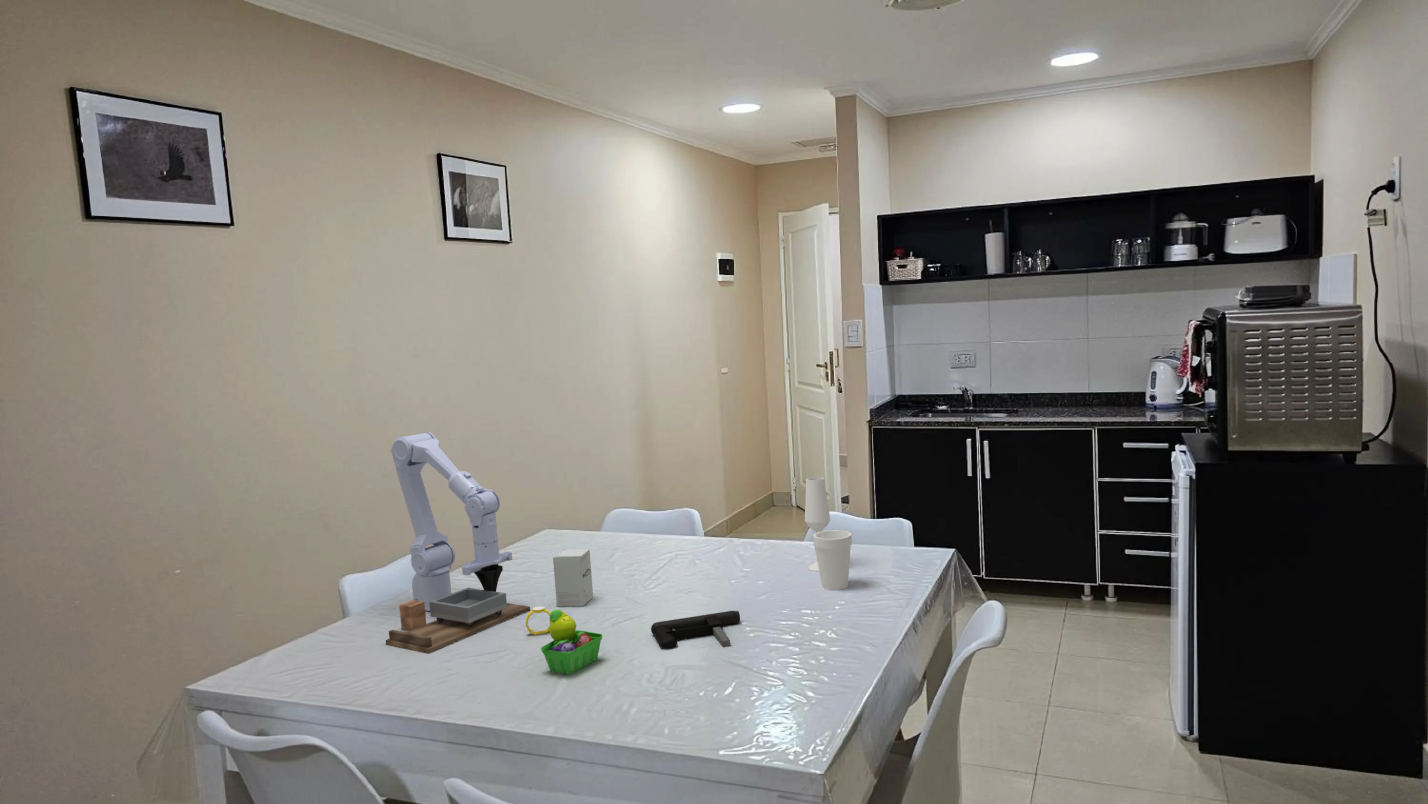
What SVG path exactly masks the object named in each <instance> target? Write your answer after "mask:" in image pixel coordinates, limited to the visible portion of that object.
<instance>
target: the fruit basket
mask: <svg viewBox="0 0 1428 804" xmlns="http://www.w3.org/2000/svg"><path fill="white" fill-rule="evenodd" d="M550 613H551V614H550V616H549V626H550V627H549V635H550V637H551V638H552V641H550V642H549V643H547V644H545V645H543V646H542V647H540V651H541V653H543V656H544V658H545V660H546V664H547V665H548V666H547V667H548V668H549V671H551V672H555V673H559V674H563V673H566V675H568V674H569V675H571V674H573V673H575V672H576V671H578V670H580V669H582V668H583V667H585V666H588V665H590V664H591V663H593V662H595V661H596V660H598V657H599V651H600V649H601V641H602V640H603V634H602V633H597V632H592V631H587V630H586V631H585V630H579V629H577V622H576V621H575V620H574V619H573V618H572V617H571V616H570V615H568V614H567V613H566V612H565V611H563V610H560V609H554V610H552V612H550ZM576 629H577V630H576ZM574 671H575V672H574Z"/></svg>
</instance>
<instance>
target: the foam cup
mask: <svg viewBox="0 0 1428 804" xmlns="http://www.w3.org/2000/svg"><path fill="white" fill-rule="evenodd" d="M812 540H813V541H812V542H813V547H814V552H815V556H816V561H817V562H818V567H819V571H818V572H819V576H820V582H821V586H822V588H823V589H824V590H827V591H828V590H829V591H839V590H844V589H846V588H848V585H849V574H850V560H851V550H852V549H851V548H852V547H851V546H852V543H853V538H852V532H850V531H847V530H837V529H831V530H822V531H821V532H817V533H816V532H815V533H813V535H812Z"/></svg>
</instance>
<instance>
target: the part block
mask: <svg viewBox="0 0 1428 804" xmlns="http://www.w3.org/2000/svg"><path fill="white" fill-rule="evenodd" d="M398 608H399V615H400V616H399V617H400V625H401V626H400V627H401V631H405V632H408V631H410V630H413V629H415V628H418V627H420V626H423V625H425V624H427V616H426V610H425V605H424V602H422V601H416V600H414V599H412V600H409V601H407V602H403V603H401V604H399V607H398Z"/></svg>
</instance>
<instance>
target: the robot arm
mask: <svg viewBox="0 0 1428 804" xmlns="http://www.w3.org/2000/svg"><path fill="white" fill-rule="evenodd" d="M390 452H391V456H392V459H393V463H394V466H395V470H396V474H397V478H398V481H399V485H400V488H401V490H402V494H403V498H404V501H405V504H406V507H407V509H406V510H407V511H408V515H409V518H410V522H411V525H412V528H413V532H414V534H415V535H414V536H415V539H414V541H413V542H412V544H411V545H410V546H409V552H410V556H411V557H410V562H411V563H410V564H411V567H412V569H413V571H414V572H415V574H414V575H413V577H412V581H411V588H412V598H413V599H412V600H416V601H422V602H424V605H425V612H430V605H429V602H430V601H433V600H436V599H439V598H441V597H444V596H447V595H449V594H452V584H451V576H450V570H451V569H452V565H453V564H454V562H455V560H456V553H455V550H454V548H453V546H452V545H451V543H450V542H449V539H448V536H447V535H445V534H444V533H441V532H440V531H438V528H437V524H436V521H435V517H434V515H433V510H432V507H431V504H430V500H429V497H428V493H427V491H426V487H425V485H424V480H423V478H422V470H423V467H425V466H426V465H427V464H429V466H431V467H432V468H433V469H435V471H436V472H438V473H439V474H440V475H441V476H442V477H444V479H446V480H447V481H448V485H447V486H448V488H449V490H450V491H451V492H452V493H453V494H454V495H455V496H456V497H458V499H459V500H460V501H461V502H462V503H463V504H464V505H465V506H464V510H465V512H466V515H467V516H468V519H469V523H470V525H471V528H472V538H473V549H474V560H472V561H471V562H469V563H467V564H465V565H464V566H461V570H462V576H463V575H465V576H471V575H472V574H474V575H475V576H476V577H477V580H479V583H480V584H481V586H482V590H487V591H494V592H497V589H498V588H497V587H498V583H499V580H500V576H501V574H502V573H503V565H499V564H501V563H504V562H506V561H507V562H508V561H513V552H511V551H504V552H501V553H500V551H499V550H500V547H499V537H498V528H497V515H496V512H498V511H499V509H500V507H501V506H500V505H501V502H500V498H499V496H498V494H497V493H496V492H495V491H494V490H493V489H487V488H486V487H483V486H482V485H481V484H480V483H478V481H477V480H476V479H475V478H474V477H473V476H472V474H471V473H470V472H468V471H466V470H459V469H458V467H456V465H455V464H454V463H453V462H452V461H451V459H450V458H449V457H448V455H446V453H445V452H444V451H443V450H442V449H441V443H440V440H439V439H438V438H436V437H435V435H434V434H433V433H432V432H430V431H425V432H423V433H418V434H413V435H407V436H398V437H397V438H395V440H394V441H393V443H392V446H391V448H390ZM430 545H431V546H430ZM428 546H429V547H428Z"/></svg>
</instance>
